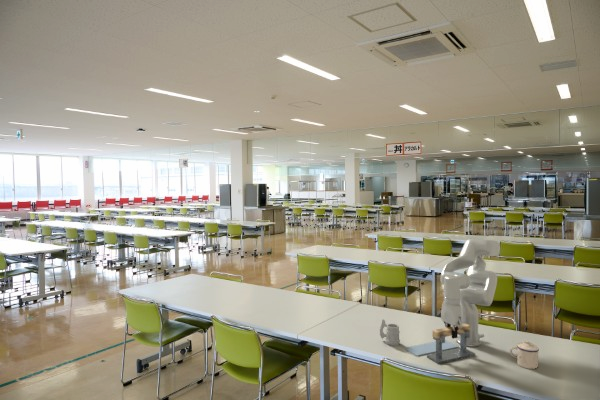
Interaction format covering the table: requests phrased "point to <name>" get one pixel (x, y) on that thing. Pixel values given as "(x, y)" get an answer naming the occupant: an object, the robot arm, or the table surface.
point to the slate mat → (429, 348)
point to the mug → (390, 333)
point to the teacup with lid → (526, 355)
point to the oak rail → (449, 331)
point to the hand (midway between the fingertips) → (451, 336)
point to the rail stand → (451, 354)
